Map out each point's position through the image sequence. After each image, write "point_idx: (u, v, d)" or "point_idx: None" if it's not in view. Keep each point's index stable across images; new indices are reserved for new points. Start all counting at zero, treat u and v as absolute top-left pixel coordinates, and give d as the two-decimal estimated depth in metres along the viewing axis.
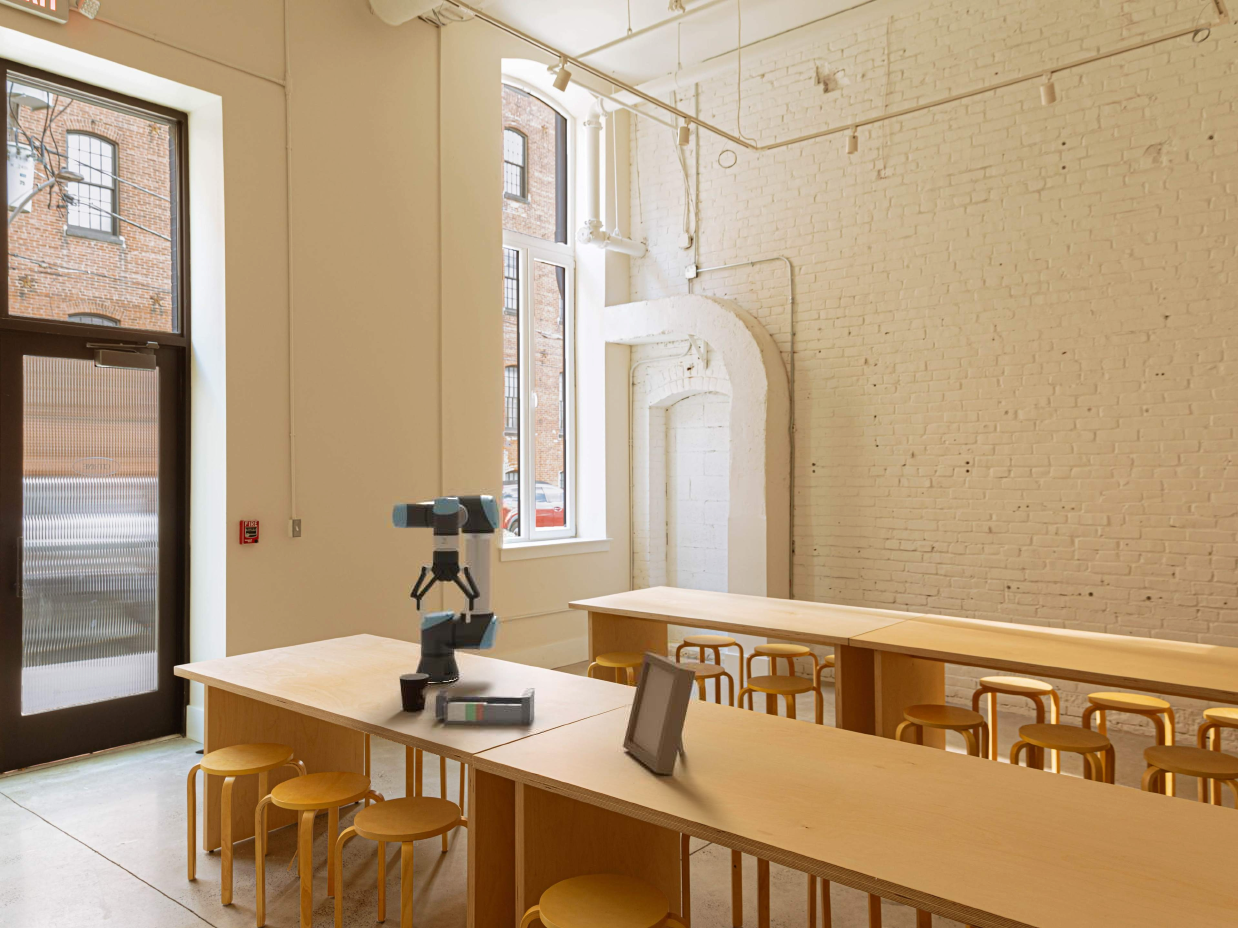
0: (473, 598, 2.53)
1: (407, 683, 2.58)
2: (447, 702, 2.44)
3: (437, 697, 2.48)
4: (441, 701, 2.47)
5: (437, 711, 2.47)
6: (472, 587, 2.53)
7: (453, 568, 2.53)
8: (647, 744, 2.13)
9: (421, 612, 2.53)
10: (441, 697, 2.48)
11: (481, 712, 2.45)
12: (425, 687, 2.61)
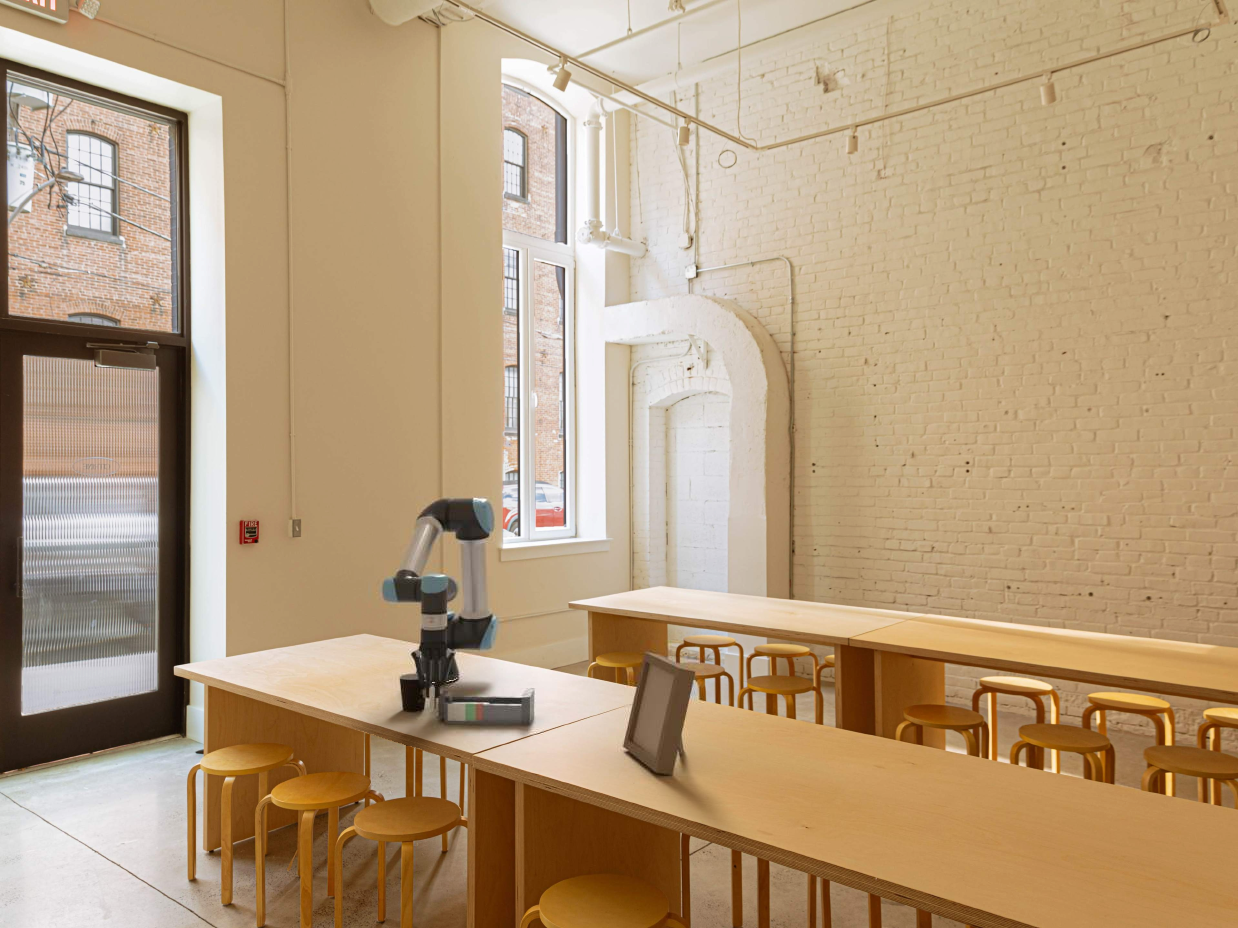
0: (439, 685, 2.50)
1: (407, 683, 2.58)
2: (449, 702, 2.44)
3: (439, 697, 2.47)
4: (443, 701, 2.47)
5: (439, 711, 2.47)
6: (444, 673, 2.50)
7: (442, 646, 2.50)
8: (647, 744, 2.13)
9: (430, 700, 2.49)
10: (443, 697, 2.47)
11: (481, 712, 2.45)
12: (425, 687, 2.61)
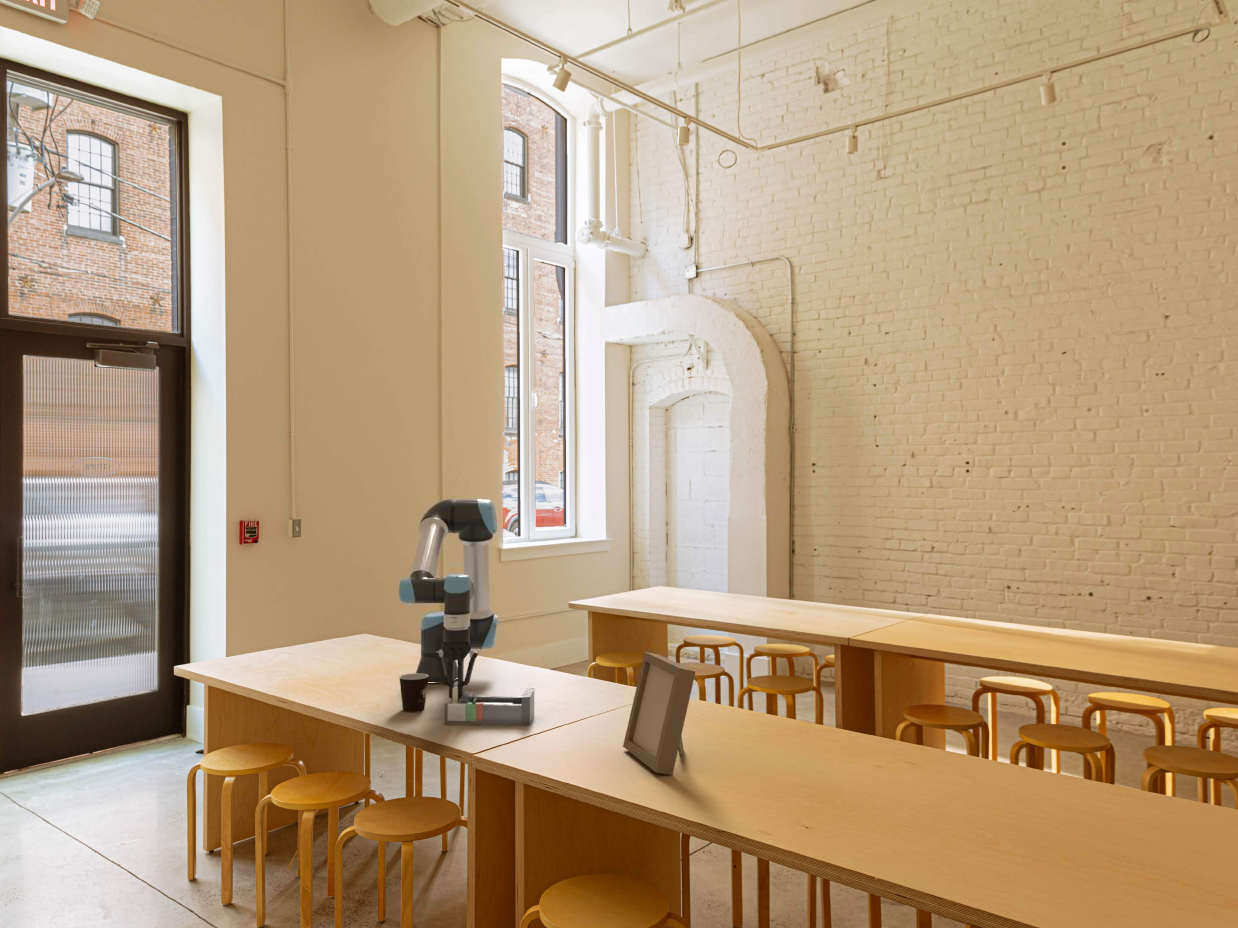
0: (462, 685, 2.50)
1: (407, 683, 2.58)
2: (473, 702, 2.44)
3: (463, 697, 2.47)
4: (467, 701, 2.47)
5: None
6: (467, 673, 2.49)
7: (465, 646, 2.50)
8: (647, 744, 2.13)
9: (454, 700, 2.49)
10: (467, 697, 2.47)
11: (481, 712, 2.45)
12: (425, 687, 2.61)
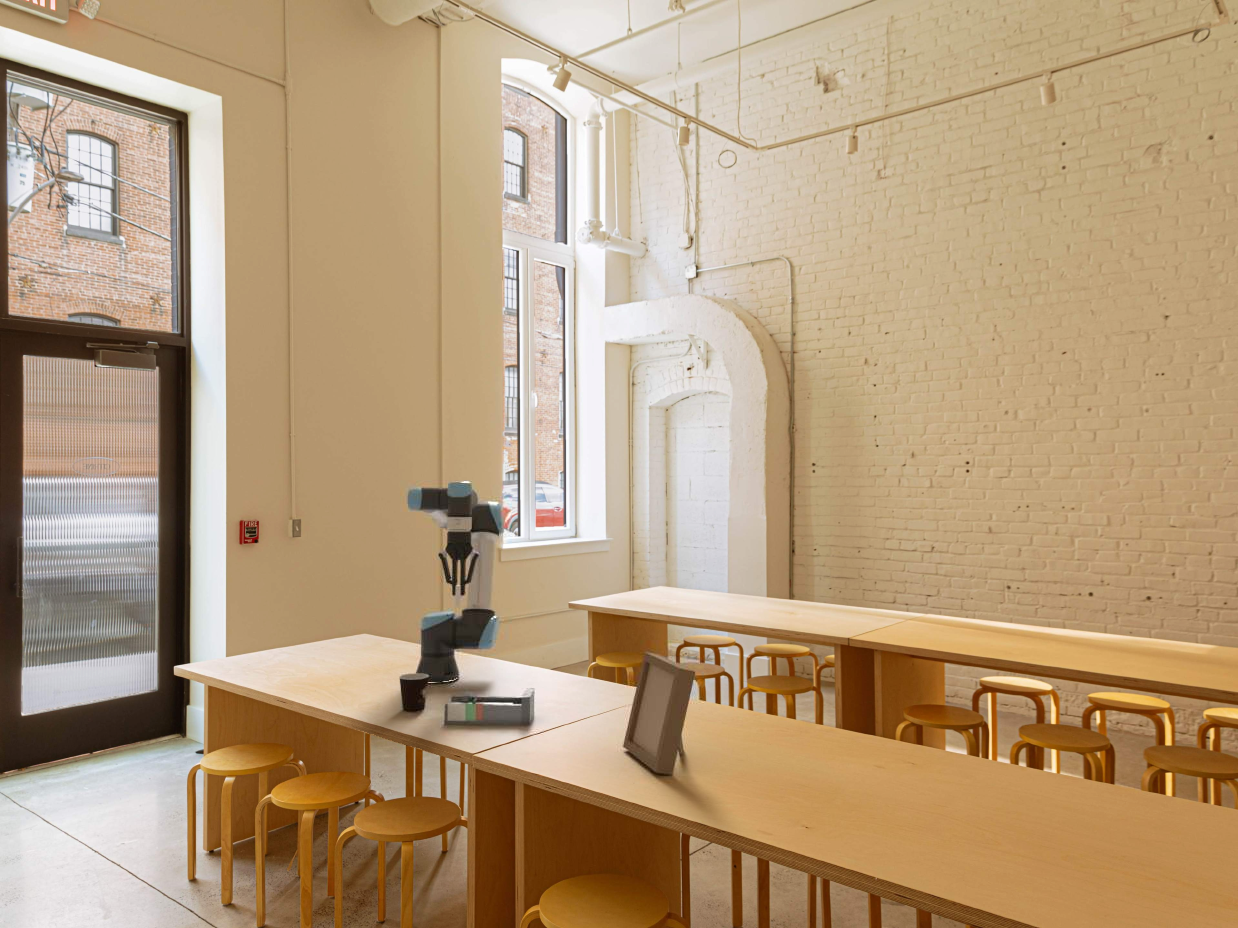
0: (464, 583, 2.69)
1: (407, 683, 2.58)
2: (473, 702, 2.44)
3: (463, 697, 2.47)
4: (467, 701, 2.47)
5: None
6: (469, 572, 2.68)
7: (467, 547, 2.69)
8: (647, 744, 2.13)
9: (456, 597, 2.68)
10: (467, 697, 2.47)
11: (481, 712, 2.45)
12: (425, 687, 2.61)
